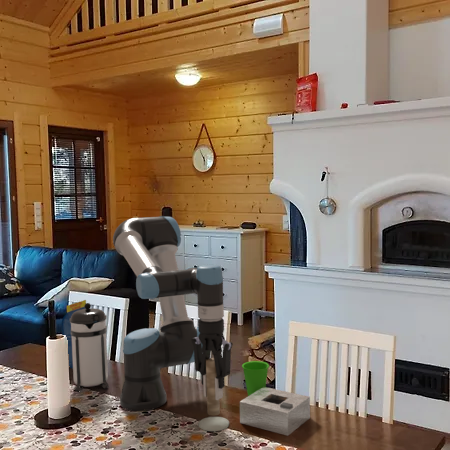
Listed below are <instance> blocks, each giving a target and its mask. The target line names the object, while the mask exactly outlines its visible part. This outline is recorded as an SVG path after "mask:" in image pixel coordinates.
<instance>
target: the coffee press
mask: <svg viewBox="0 0 450 450" xmlns="http://www.w3.org/2000/svg"><path fill="white" fill-rule="evenodd" d="M84 307H85V308H86V309H82V310H78V311H76V312H74V313H73V314H72V316H71V318H70V323H71V335H72V356H73V368H72V371H73V372H72V374H73V382H74V384H75V385H76V386H75V392H76V393H80V392H81V391H82V389H83V388H84V387H85V388H86V387H88V388H89V387H95V386H101V387H102V389H104V390H106V389H107V388H109V383H108V378H109V369H108V368H109V366H108V348H107V347H108V345H107V329H108V328H107V323H106V322H107V319H108V317H107V315H106V314H105V312H104V311H103V310H102V309H99V308H91V307H92V304H91V303H90V302H86V304H85V306H84ZM79 391H80V392H79Z"/></svg>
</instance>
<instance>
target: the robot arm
mask: <svg viewBox="0 0 450 450" xmlns="http://www.w3.org/2000/svg"><path fill="white" fill-rule="evenodd" d="M181 235H182V234H181V229H180V226H179V224H178V221H177V220H176V219H175V218H173V217H172V216H164V215H160V216H150V217H149V216H148V217H132V218H128V219H126V220H124V221H123V222H121V223H120V224H119V225H118V226H117V227H116V228H115V231H114V233H113V237H112V242H113V246H114V248H115V250H116V252H117V253H118V254H119V255H121V256H123V257H124V259H125V260H126V261H127V263H128V265H129V267H130V268H131V269H132V271H133V273H134V275H135V277H136V280H135V281H136V282H135V287H136V288H135V289H136V292H137V296H138V297H139V298H141V299H142V300H147V299H151V300H154V299H157V298H158V300H159V307H160V310H161V317H162V322H163V323H162V324H161V326H160V329H157V328H154V327H150V328H146V327H145V328H140V329H136V330H134V331H131V332H129V333H128V334H126V336H125V337H124V338H123V344H122V354H123V369H124V370H123V371H124V372H123V373H124V381H123V386H122V389H121V393H120V397H119V403H120V406H121V407H122V408H123V409H125V410H128V411H137V412H142V411H149V410H154V409H157V408H160V407H162V406H164V405H165V404H166V402H167V392H166V390H165V388H164V384H163V381H162V378H161V369H163V368H164V369H165V368H170V367H174V366H175V367H177V366H181V365H182V366H183V365H189V364H192V363H194V369H195V372H199V373H200V376H201V385H203V398H207V380H206V359H208V358H211V355H212V356H213V358H214V361H215V367H216V373H217V376H216V378H215V399H216V400H219V401H220V400H221V399H222V398H224V395H223V394H224V388H225V377H228V376H229V375H231V358H232V357H231V355H232V354H231V353H232V348H233V346H234V344H233V342H232V341H227V340H226V339H225V335H224V332H225V320H224V319H223V318H224V317H225V313H224V312H225V311H224V308H225V307H224V276H223V268H222V267H221V265H217V264H203V265H199V266H198V267H196V266H193V267H191V266H190V267H186V268H185V269H179V268H178V263H177V259H176V253H177V252H178V249H179V248H178V247H179V246H180V245H181V242H182V237H181ZM192 294H193V295H194V294H195V295H196V296H197V297H196V298H197V318H198V320H197V321H198V322H197V323H198V324H197V326H195V323H194V322H195V321H194V320H192V319H191V318H189V316H188V311H187V306H186V301H185V295H192ZM159 330H160V331H159Z"/></svg>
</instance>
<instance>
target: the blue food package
mask: <svg viewBox="0 0 450 450" xmlns="http://www.w3.org/2000/svg"><path fill="white" fill-rule="evenodd" d="M86 303H87V300H86V299H84V300H81V301H77V302H74V303H72V304H68V305H66V312H65V314H64V316H63V317H62V320H61V336H62V335H66V337H67V340H68V354H69V366H70V368H69V369H73V356H72V335H71V323H70V318H71V316H72V314H73V313H74V312H76V311H78V310H82V309H86V308H85V307H84V306H85V304H86Z"/></svg>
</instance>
